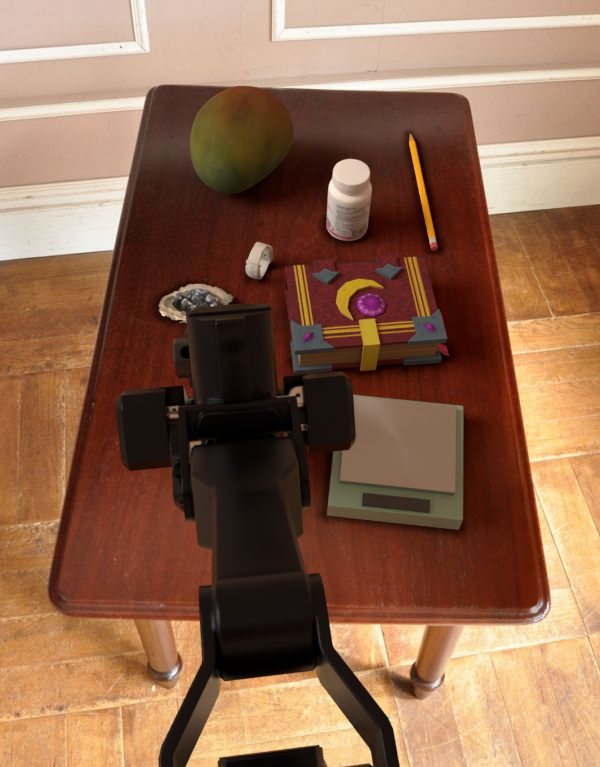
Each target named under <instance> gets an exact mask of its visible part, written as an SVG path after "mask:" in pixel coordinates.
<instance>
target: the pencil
mask: <svg viewBox="0 0 600 767" xmlns="http://www.w3.org/2000/svg"><path fill="white" fill-rule="evenodd" d="M408 146H409V150H410V154H411V159H412V163H413V164H412V165H413V169H414V173H415V179H416V183H417V184H416V185H417V188H418V193H419V197H420V204H421V207H422V212H423V217H424V223H425V226H426V227H425V228H426V231H427V236H428V241H429V247H430V250H431V251H433V252H435V251H437V250H438V249H439V246H438V242H437V237H436V232H435V228H434V222H433V219H432V214H431V210H430V204H429V200H428V195H427V190H426V184H425V181H424V180H425V179H424V176H423V172H422V166H421V161H420V157H419V153H418V146H417V143H416V141H415V138H414V137H413V135H412V133H409V138H408Z"/></svg>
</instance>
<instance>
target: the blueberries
mask: <svg viewBox="0 0 600 767" xmlns="http://www.w3.org/2000/svg"><path fill="white" fill-rule="evenodd" d="M234 298H235V297H234V296H233V295H232V294H231V293H227V292H226V291H225V290H223V289H222V288H219V287H218V286H211V285H209V284H208V285H207V284H205V283H193V284H192V283H189V284H187V285H186V286H180V288H179V289H178V290H173V292H172V293H169V294H168V295H165V296H163V297H162V298H161V299H160V300H159V304H158V305H157V306H158V308H159V309H158V312H159V313H160V314H161V316H163V317H167V318H170V319H171V320H172V321H180V322H179V324H182V323H185V324H187V322H186V312H187V311H190V310H194V309H198V308H204V307H211V306H220V305H229V304H230V303H231V302H232V301H234V300H233V299H234Z"/></svg>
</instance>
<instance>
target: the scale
mask: <svg viewBox="0 0 600 767" xmlns="http://www.w3.org/2000/svg"><path fill="white" fill-rule="evenodd" d="M353 396H354V413H355V430H356V440H355V443H354V444H353V446H352V447H351V448H350V450H344V451H333V452H332V460H331V470H330V480H329V490H328V499H327V510H326V511H327V512H326V516H329V517H336V518H337V517H338V518H345V519H346V518H347V519H354V520H355V519H356V520H364V521H373V522H383V523H390V524H391V523H392V524H399V525H410V526H418V527H419V526H420V527H428V528H437V529H438V528H439V529H446V530H455V531H456V530H457V531H459V530H460V528H461V525H462V523H463V521H464V405H459V404H458V405H457V404H449V403H447V404H446V403H438V402H427V401H418V400H408V399H399V398H390V397H379V396H370V395H360V394H353Z"/></svg>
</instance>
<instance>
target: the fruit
mask: <svg viewBox="0 0 600 767" xmlns="http://www.w3.org/2000/svg"><path fill="white" fill-rule="evenodd" d="M294 131H295V130H294V123H293V119H292V115H291V114H290V111H289V109H288V108H287V106H286V105H285V104H284V102H282V101H281V100H280V98H278V97H277V95H274V94H272V93H271V92H269V91H267V90H266V89H262V88H260V87H257V86H252V85H236V86H232V87H229V88H226V89H224V90H222V91H219V92H217V93H216V94H215V95H213V96H212V97H211V98H209V99H208V100H206V102H205V103H204V104H203V105H202V106H201V108H200V109H199V111H198V112H197V113H196V116H195V117H194V120H193V123H192V126H191V131H190V135H189V136H190V137H189V154H190V159H191V163H192V166H193V169H194V171H195V173H196V175H197V177H199V179H200V180H201V181H202V182H203V184H205V186H207V187H209V188H210V189H212V190H214V191H216V192H218V193H222V194H226V195H233V194H235V195H236V194H240V193H242V192H244V191H246V190H249V189H251V188H252V187H254V186H255V185H257V184H258V183H260V182H261V181H262V180H264V179H265V178H267V177H268V176H269V175H270V174H271V173H272V172H273V171H274V170H275V169H276V168H277V167H278V166H279V165H280V164H281V163H282V162H283V161H284V159H285V158H286V157H287V155H288V154H289V151H290V150H291V147H292V144H293V141H294Z"/></svg>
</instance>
